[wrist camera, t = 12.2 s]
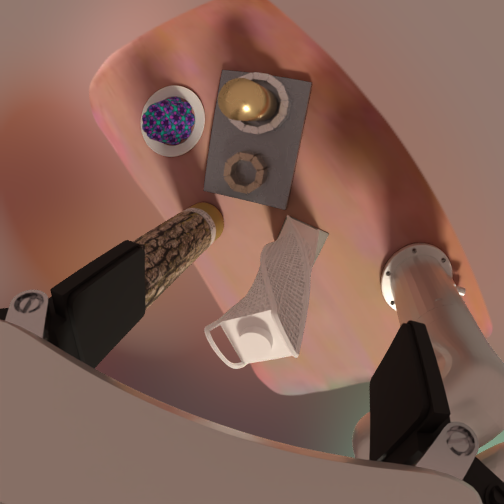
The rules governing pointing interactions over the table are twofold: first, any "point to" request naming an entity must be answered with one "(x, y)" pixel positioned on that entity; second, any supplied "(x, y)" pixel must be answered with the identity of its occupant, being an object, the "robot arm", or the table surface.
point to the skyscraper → (274, 298)
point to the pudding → (172, 121)
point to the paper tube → (177, 246)
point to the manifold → (258, 144)
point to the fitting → (246, 101)
